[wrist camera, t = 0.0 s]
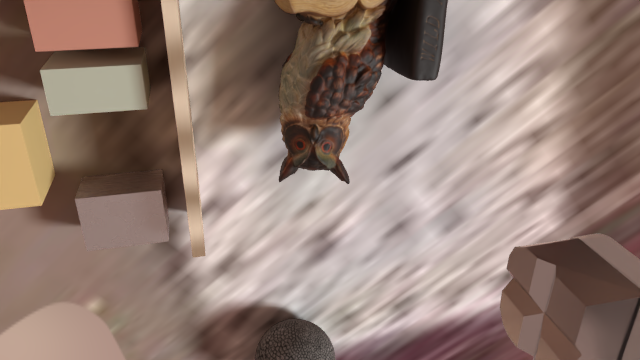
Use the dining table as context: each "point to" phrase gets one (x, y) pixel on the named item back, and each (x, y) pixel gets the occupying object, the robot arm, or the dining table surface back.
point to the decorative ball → (295, 342)
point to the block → (123, 209)
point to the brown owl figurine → (348, 69)
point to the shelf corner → (183, 122)
